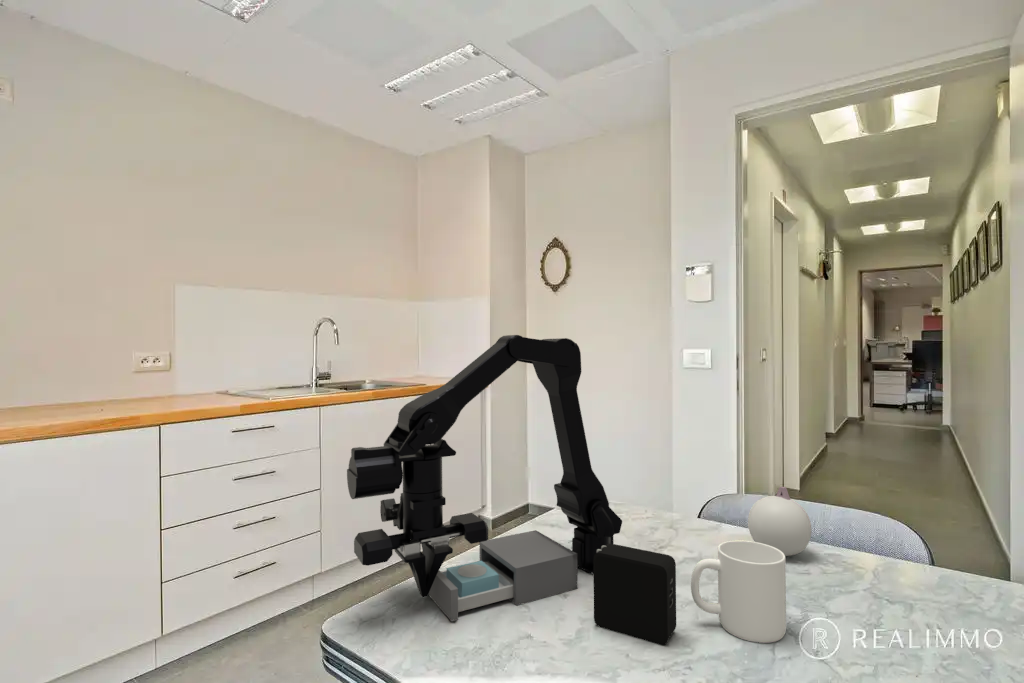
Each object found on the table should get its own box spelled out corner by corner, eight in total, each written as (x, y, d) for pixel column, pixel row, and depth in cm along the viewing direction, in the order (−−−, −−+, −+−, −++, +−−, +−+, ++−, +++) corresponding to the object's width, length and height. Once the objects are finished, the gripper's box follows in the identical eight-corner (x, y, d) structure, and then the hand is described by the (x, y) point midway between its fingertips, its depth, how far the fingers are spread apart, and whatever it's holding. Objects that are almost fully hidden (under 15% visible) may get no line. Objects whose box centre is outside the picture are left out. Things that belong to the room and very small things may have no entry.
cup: (797, 646, 67) (796, 565, 67) (698, 641, 68) (697, 561, 68) (772, 613, 75) (771, 541, 75) (684, 609, 77) (684, 538, 77)
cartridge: (481, 575, 85) (481, 559, 85) (498, 590, 80) (498, 573, 80) (446, 583, 82) (446, 567, 82) (462, 599, 77) (462, 582, 77)
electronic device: (667, 647, 67) (666, 567, 67) (593, 625, 72) (593, 551, 72) (676, 632, 70) (675, 556, 71) (605, 612, 76) (604, 541, 76)
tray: (485, 571, 89) (484, 545, 89) (522, 601, 78) (521, 573, 78) (421, 586, 84) (420, 559, 84) (451, 621, 73) (451, 590, 73)
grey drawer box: (536, 560, 94) (535, 530, 94) (577, 588, 83) (577, 553, 83) (479, 574, 89) (479, 541, 89) (516, 605, 78) (516, 568, 78)
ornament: (813, 550, 98) (812, 484, 98) (809, 569, 90) (808, 498, 90) (753, 539, 104) (752, 477, 104) (744, 557, 95) (743, 489, 95)
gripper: (459, 469, 89) (460, 563, 89) (345, 485, 80) (346, 589, 80) (489, 484, 79) (490, 589, 79) (363, 503, 70) (364, 622, 70)
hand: (423, 595), depth 78 cm, fingers closed
